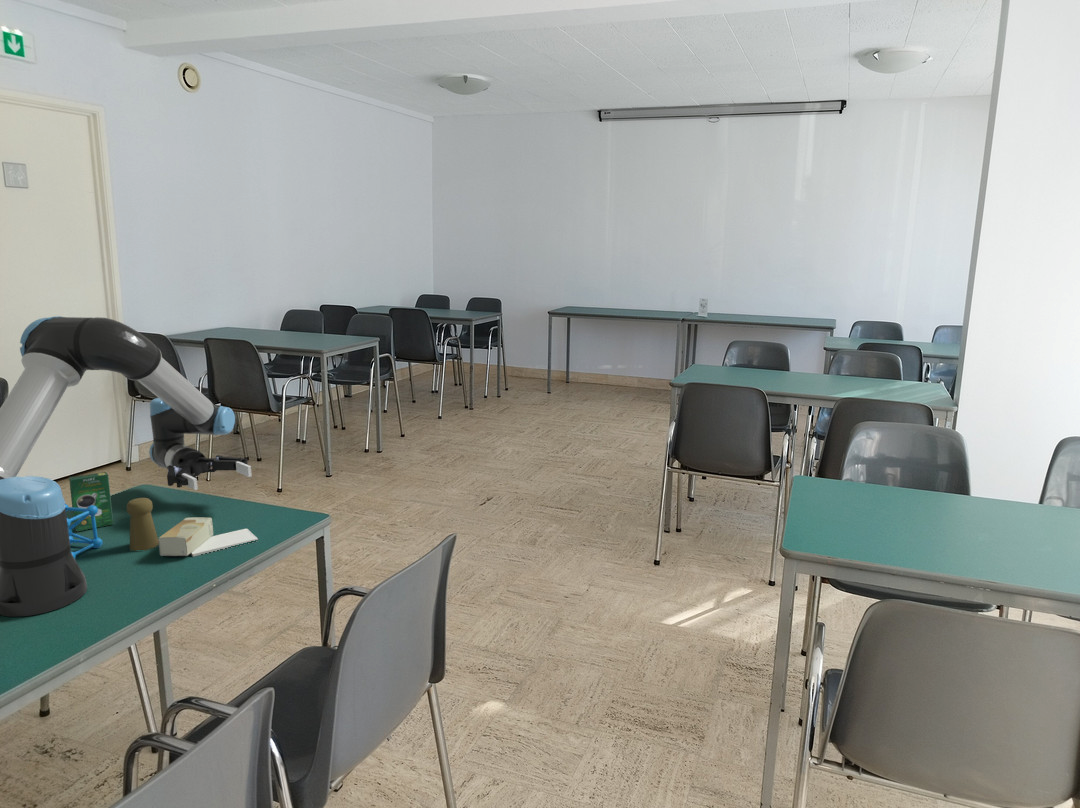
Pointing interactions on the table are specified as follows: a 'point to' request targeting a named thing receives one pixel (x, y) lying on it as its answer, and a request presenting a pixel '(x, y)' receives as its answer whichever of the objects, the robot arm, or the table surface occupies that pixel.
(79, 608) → the table surface
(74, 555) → the molecular structure
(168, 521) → the table surface
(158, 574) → the table surface
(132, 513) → the cork
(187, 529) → the skincare box
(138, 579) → the table surface
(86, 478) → the coffee box
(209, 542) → the mat
